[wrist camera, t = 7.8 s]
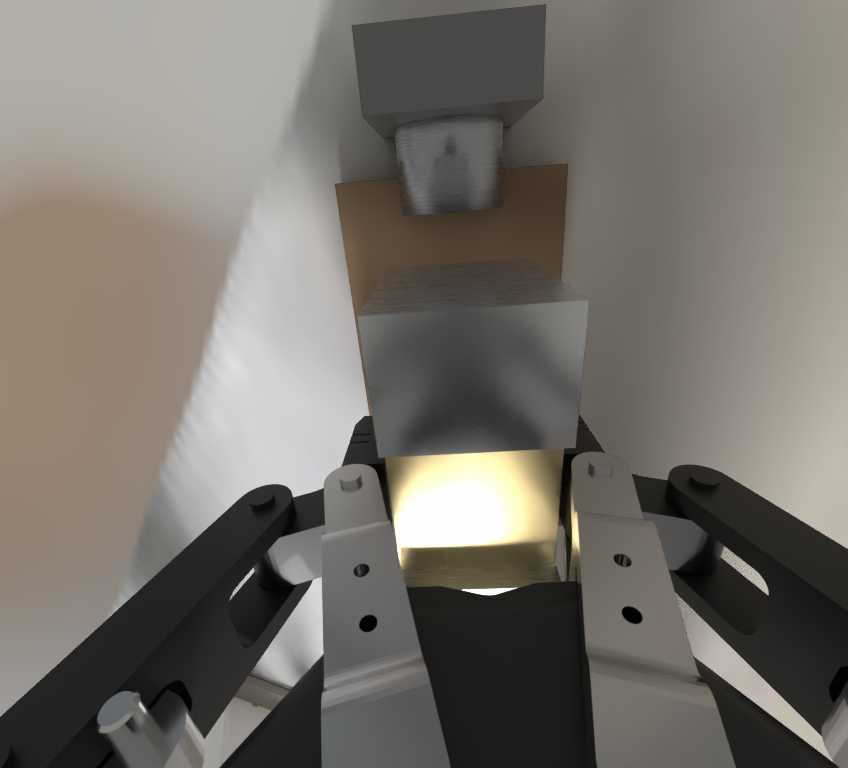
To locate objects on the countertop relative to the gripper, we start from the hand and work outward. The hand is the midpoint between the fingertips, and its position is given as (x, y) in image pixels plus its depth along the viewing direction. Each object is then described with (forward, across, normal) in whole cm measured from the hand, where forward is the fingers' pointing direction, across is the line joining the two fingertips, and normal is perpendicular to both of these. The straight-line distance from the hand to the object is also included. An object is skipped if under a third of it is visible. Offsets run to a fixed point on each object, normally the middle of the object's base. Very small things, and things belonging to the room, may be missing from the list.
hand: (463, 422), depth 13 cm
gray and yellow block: (0, 0, 0) cm, 0 cm away
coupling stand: (+3, 0, 0) cm, 3 cm away
